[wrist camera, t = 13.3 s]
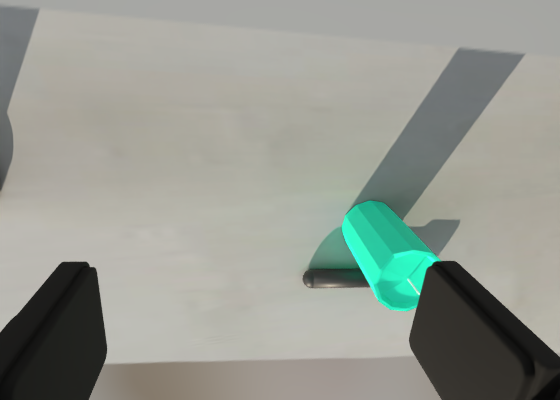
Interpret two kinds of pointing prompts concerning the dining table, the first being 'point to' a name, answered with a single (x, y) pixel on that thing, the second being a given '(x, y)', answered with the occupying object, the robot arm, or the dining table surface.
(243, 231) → the dining table surface
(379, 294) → the candle
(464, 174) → the dining table surface
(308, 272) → the marker
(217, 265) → the dining table surface
